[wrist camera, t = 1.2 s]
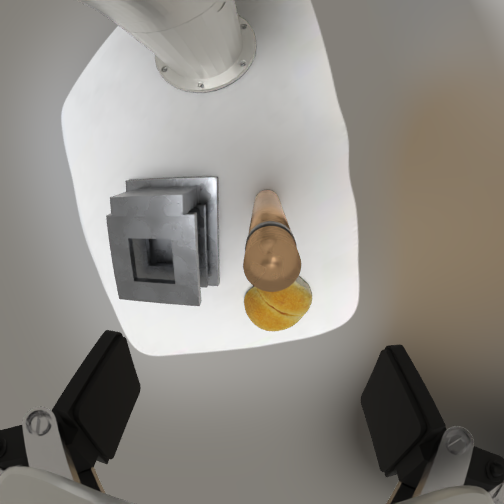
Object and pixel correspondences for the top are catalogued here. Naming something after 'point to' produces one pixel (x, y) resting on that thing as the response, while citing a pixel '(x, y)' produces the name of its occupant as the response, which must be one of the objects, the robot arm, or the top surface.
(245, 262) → the brown rod
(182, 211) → the collar stand
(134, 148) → the top surface
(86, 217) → the top surface
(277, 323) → the bread roll
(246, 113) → the top surface
